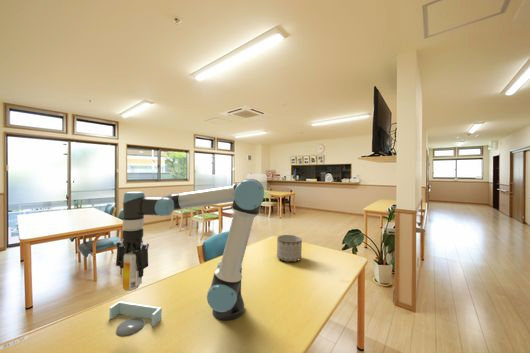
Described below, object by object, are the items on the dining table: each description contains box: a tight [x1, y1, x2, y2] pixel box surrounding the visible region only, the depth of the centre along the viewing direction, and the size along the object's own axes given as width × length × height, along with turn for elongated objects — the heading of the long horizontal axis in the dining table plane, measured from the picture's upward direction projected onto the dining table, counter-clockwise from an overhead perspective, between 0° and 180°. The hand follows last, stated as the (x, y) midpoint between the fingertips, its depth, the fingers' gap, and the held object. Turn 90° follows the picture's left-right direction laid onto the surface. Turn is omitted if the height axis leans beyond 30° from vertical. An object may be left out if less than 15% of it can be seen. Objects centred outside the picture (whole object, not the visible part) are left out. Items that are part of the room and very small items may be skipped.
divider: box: [108, 300, 163, 327], centre depth 96 cm, size 22×5×5 cm, turn 80°
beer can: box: [122, 250, 140, 292], centre depth 91 cm, size 6×6×15 cm
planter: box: [276, 234, 303, 262], centre depth 172 cm, size 19×19×16 cm
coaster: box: [115, 317, 145, 337], centre depth 91 cm, size 10×10×1 cm
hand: (131, 283), depth 91 cm, fingers closed on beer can, 6 cm apart
